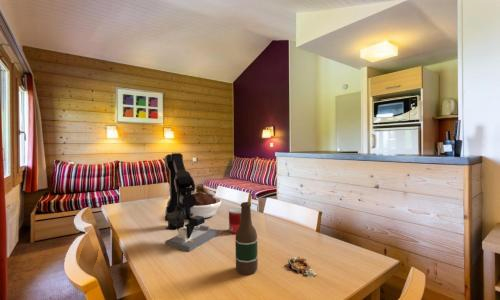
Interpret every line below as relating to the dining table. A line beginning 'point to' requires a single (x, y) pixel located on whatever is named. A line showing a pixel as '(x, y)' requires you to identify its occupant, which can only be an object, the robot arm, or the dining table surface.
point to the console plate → (193, 238)
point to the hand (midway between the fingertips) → (184, 237)
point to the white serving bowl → (205, 205)
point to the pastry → (301, 266)
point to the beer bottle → (246, 243)
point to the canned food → (234, 220)
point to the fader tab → (183, 233)
